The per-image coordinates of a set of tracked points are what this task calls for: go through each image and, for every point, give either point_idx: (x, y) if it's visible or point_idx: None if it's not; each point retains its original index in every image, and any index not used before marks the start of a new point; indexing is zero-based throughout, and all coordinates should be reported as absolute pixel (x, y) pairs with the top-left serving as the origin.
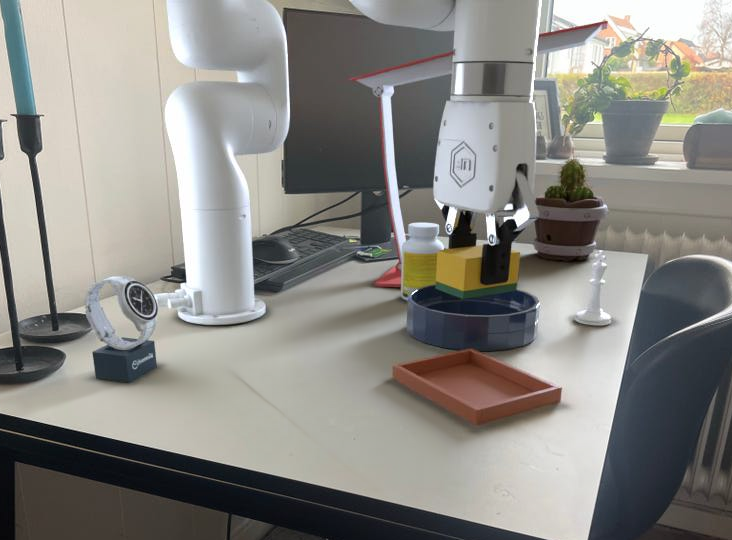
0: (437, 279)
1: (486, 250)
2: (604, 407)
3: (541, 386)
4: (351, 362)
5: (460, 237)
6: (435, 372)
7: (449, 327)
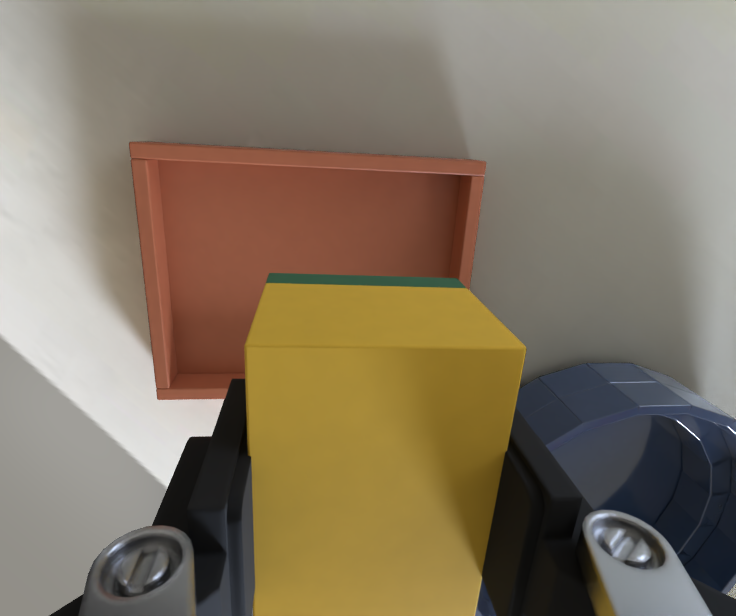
0: (458, 291)
1: (195, 484)
2: (123, 440)
3: (209, 382)
4: (628, 154)
5: (522, 534)
6: (437, 269)
7: (551, 410)
